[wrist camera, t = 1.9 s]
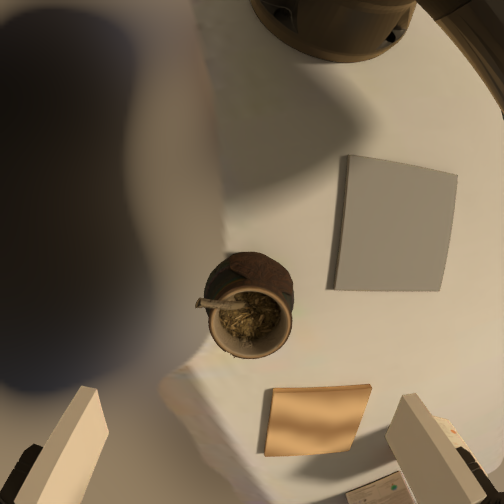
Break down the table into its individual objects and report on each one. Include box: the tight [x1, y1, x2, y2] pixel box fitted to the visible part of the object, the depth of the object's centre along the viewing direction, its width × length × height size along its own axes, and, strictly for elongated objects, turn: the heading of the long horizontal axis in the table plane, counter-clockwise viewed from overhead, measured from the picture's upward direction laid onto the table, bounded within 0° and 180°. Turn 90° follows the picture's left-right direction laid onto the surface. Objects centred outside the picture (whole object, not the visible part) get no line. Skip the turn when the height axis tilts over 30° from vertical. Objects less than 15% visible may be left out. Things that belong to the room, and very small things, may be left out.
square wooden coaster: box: [264, 384, 372, 457], centre depth 32 cm, size 11×11×1 cm
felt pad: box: [333, 155, 458, 291], centre depth 27 cm, size 12×12×1 cm
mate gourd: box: [195, 252, 294, 359], centre depth 23 cm, size 7×8×10 cm
